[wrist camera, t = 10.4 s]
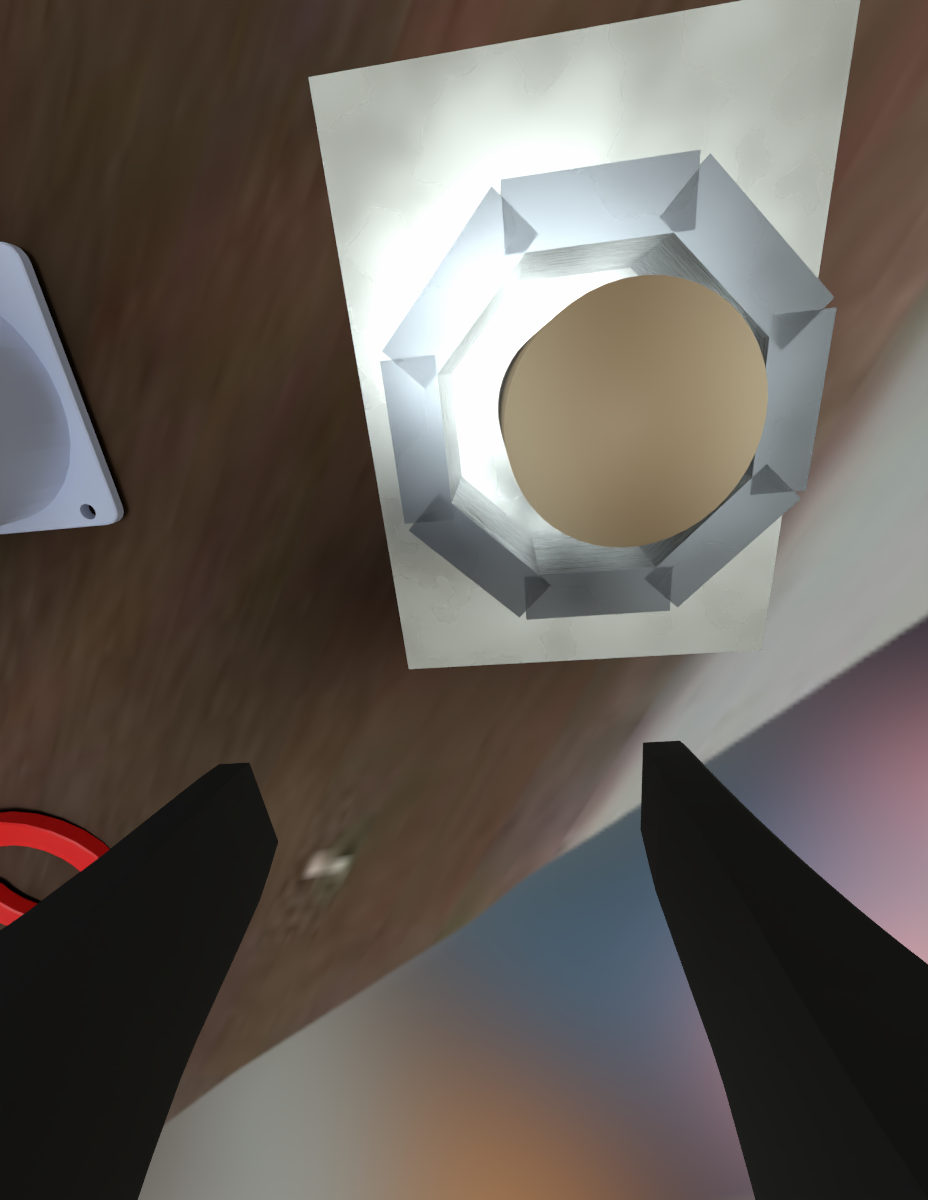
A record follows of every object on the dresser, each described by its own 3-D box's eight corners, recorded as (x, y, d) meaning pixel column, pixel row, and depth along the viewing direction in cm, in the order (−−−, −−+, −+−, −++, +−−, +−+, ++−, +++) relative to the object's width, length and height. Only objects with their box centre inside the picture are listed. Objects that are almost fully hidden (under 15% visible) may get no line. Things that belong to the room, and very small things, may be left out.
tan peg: (510, 497, 15) (524, 564, 10) (485, 336, 14) (485, 308, 8) (659, 470, 15) (762, 525, 9) (653, 300, 13) (774, 244, 8)
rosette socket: (413, 654, 19) (389, 732, 15) (322, 98, 13) (237, -34, 9) (748, 635, 18) (822, 714, 14) (834, 10, 11) (1020, -192, 7)
